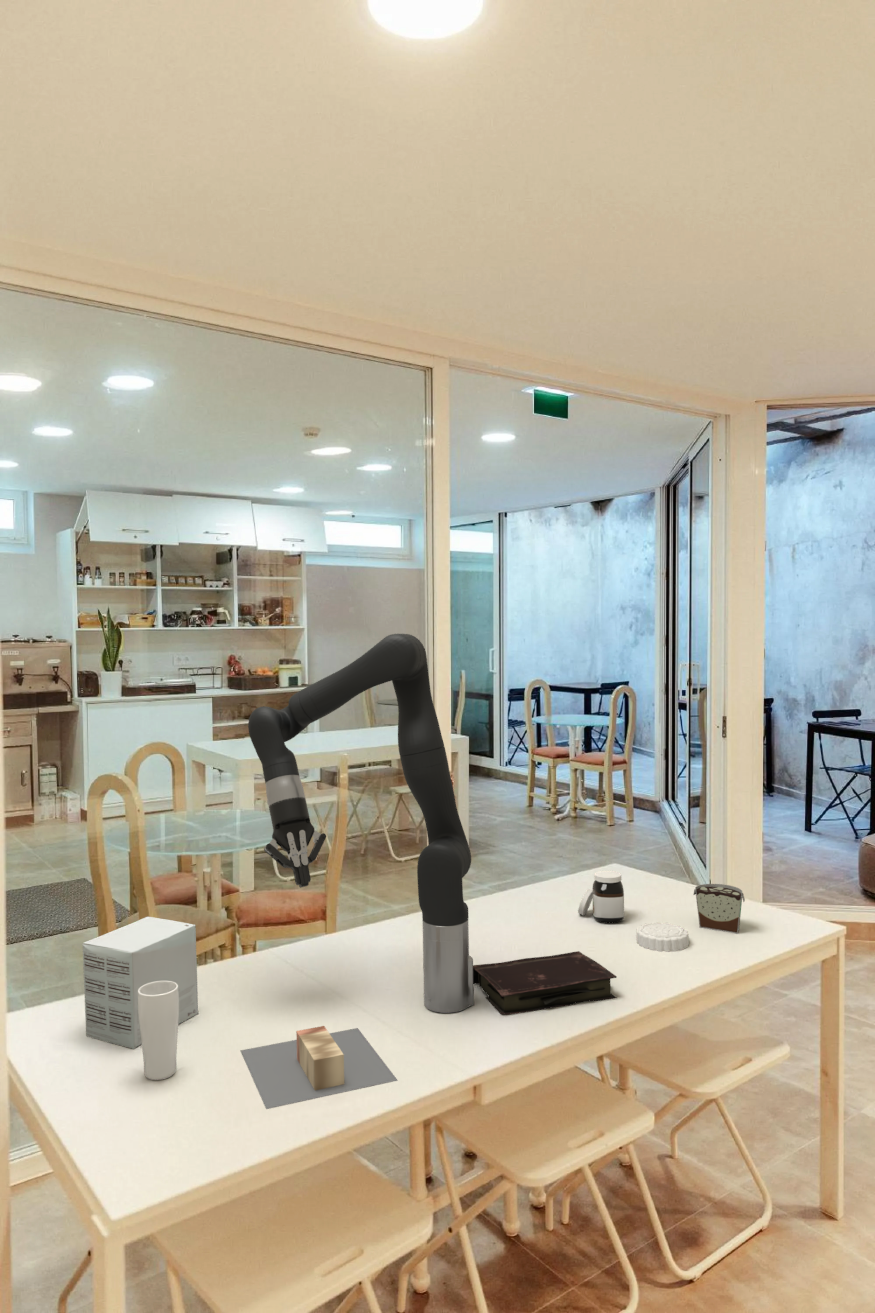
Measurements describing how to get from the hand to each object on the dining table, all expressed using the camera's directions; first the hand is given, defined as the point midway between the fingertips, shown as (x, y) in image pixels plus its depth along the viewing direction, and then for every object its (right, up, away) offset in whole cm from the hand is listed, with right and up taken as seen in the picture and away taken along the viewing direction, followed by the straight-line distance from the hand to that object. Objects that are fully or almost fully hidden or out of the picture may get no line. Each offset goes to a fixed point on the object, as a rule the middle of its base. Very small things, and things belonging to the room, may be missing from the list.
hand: (304, 886), depth 182 cm
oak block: (+4, -23, -19) cm, 30 cm away
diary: (+48, -25, +9) cm, 55 cm away
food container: (+97, -22, +47) cm, 110 cm away
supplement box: (-31, -26, -4) cm, 40 cm away
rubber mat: (+5, -26, -22) cm, 35 cm away
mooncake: (+79, -23, +37) cm, 90 cm away
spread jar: (+68, -22, +56) cm, 91 cm away
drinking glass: (-21, -27, -24) cm, 41 cm away
